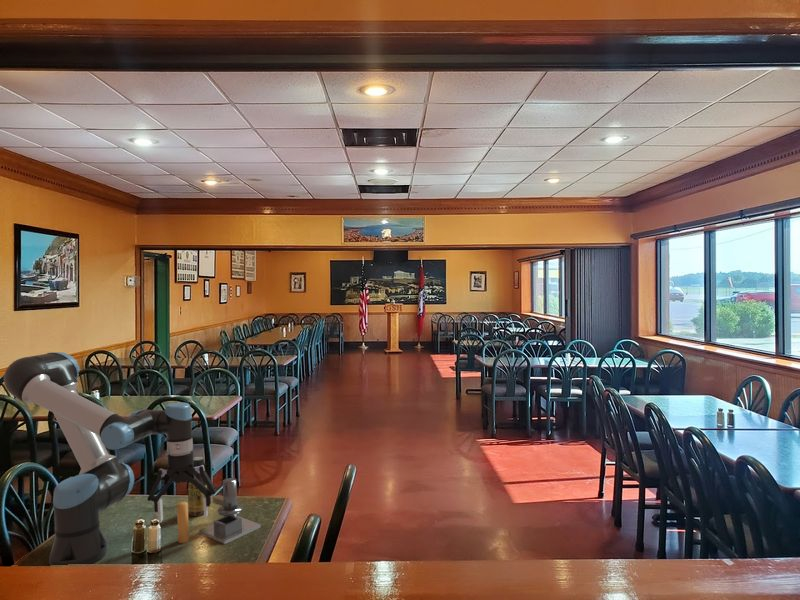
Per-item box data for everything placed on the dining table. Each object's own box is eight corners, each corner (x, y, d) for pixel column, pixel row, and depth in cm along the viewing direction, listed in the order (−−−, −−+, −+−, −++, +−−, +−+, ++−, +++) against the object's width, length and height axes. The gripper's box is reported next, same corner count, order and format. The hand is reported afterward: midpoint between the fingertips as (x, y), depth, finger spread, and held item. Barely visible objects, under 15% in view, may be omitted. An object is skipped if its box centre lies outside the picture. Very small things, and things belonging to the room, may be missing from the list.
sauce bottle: (184, 516, 193) (182, 460, 192) (196, 508, 199) (194, 454, 198) (200, 518, 191) (198, 461, 190) (211, 510, 197) (209, 456, 196)
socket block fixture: (190, 529, 182) (188, 484, 182) (226, 514, 193) (224, 472, 193) (224, 544, 171) (223, 496, 170) (260, 527, 182) (259, 482, 182)
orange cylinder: (176, 541, 173) (174, 504, 173) (185, 537, 176) (184, 500, 176) (181, 544, 172) (180, 506, 171) (191, 540, 174) (189, 503, 174)
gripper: (134, 459, 167) (138, 528, 168) (219, 452, 171) (222, 519, 172) (141, 452, 174) (145, 518, 175) (223, 445, 179) (226, 509, 179)
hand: (183, 518), depth 174 cm, fingers open, 13 cm apart
